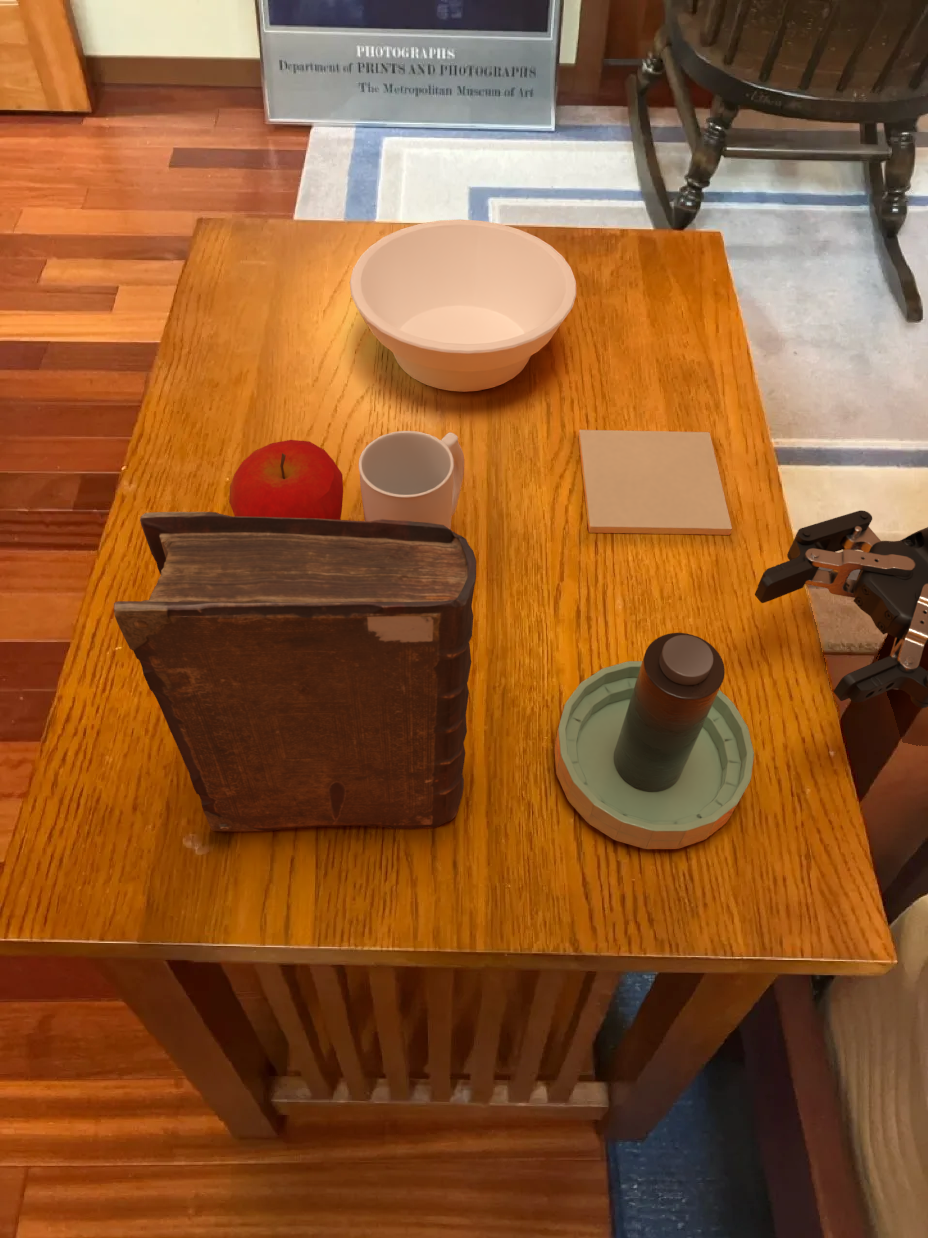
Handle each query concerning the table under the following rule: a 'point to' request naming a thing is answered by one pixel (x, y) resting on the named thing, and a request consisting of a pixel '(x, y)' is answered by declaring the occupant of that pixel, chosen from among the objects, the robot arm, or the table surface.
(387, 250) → the bowl
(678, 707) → the thermos flask
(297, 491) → the apple
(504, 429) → the table surface
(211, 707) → the book
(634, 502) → the tile
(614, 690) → the celadon bowl
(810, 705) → the table surface
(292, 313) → the table surface
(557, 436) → the table surface
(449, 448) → the mug
